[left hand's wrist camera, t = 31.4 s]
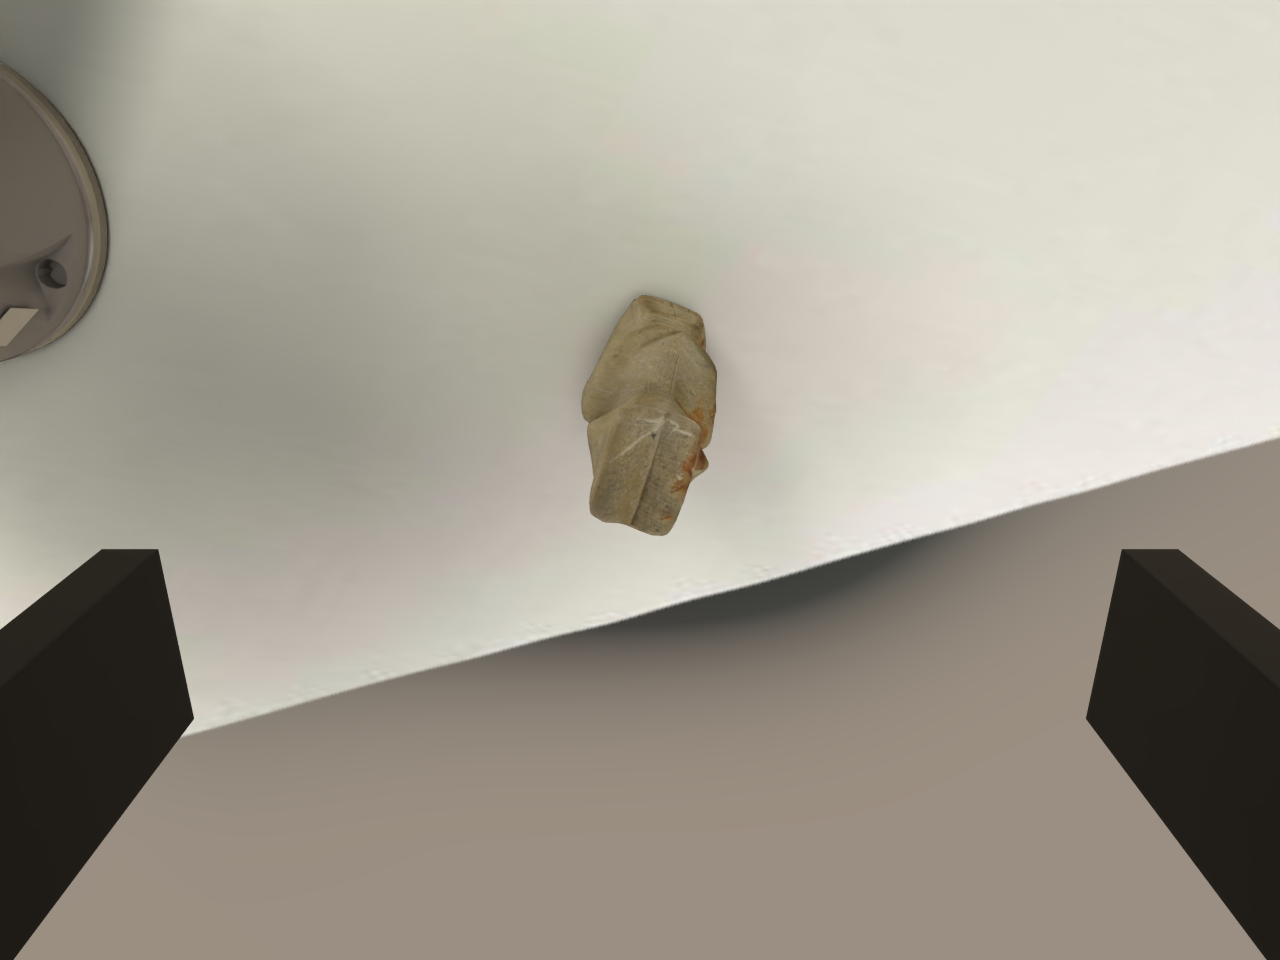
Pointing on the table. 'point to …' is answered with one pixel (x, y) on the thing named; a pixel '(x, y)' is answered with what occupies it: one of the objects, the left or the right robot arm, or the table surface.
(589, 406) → the sculpture
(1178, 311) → the table surface
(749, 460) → the table surface
